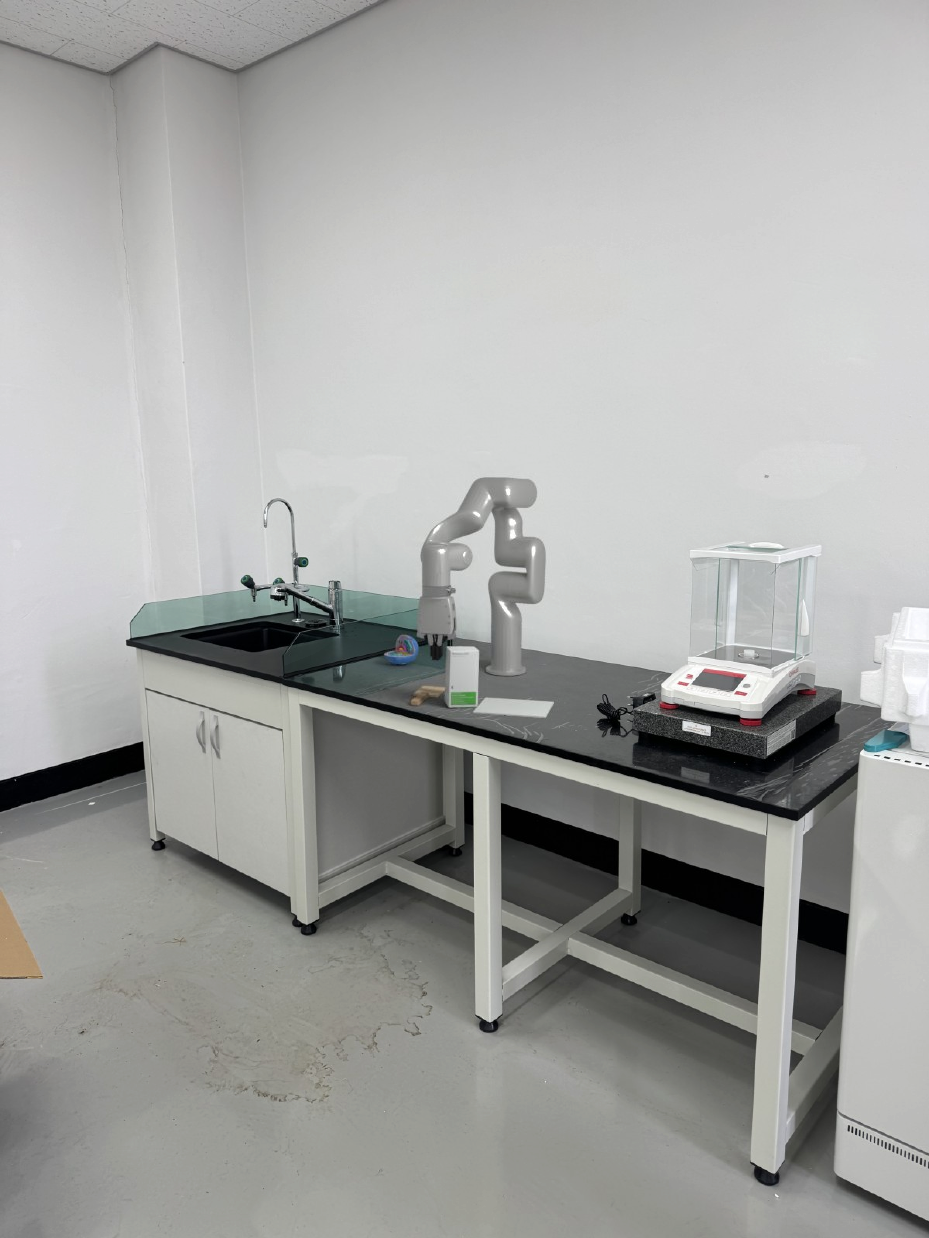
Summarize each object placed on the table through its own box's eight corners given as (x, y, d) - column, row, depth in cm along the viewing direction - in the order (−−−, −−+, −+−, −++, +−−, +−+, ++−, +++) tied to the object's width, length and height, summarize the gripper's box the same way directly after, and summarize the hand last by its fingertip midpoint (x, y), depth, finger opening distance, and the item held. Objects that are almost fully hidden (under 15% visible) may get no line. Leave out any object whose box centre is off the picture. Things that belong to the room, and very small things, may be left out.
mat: (485, 698, 241) (485, 697, 240) (553, 703, 236) (553, 701, 236) (472, 713, 226) (472, 711, 226) (545, 718, 222) (545, 716, 222)
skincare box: (448, 708, 231) (448, 651, 228) (443, 701, 237) (444, 645, 234) (479, 707, 232) (479, 650, 230) (474, 700, 239) (474, 645, 236)
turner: (423, 687, 254) (423, 683, 253) (446, 689, 252) (446, 685, 252) (402, 704, 234) (402, 700, 234) (426, 706, 233) (426, 701, 233)
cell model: (377, 664, 283) (377, 635, 281) (406, 659, 291) (406, 631, 289) (396, 669, 276) (396, 640, 274) (425, 664, 284) (425, 635, 282)
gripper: (466, 591, 233) (466, 658, 236) (413, 589, 237) (414, 655, 240) (459, 594, 226) (459, 664, 229) (405, 592, 229) (405, 660, 232)
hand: (436, 659), depth 234 cm, fingers closed
